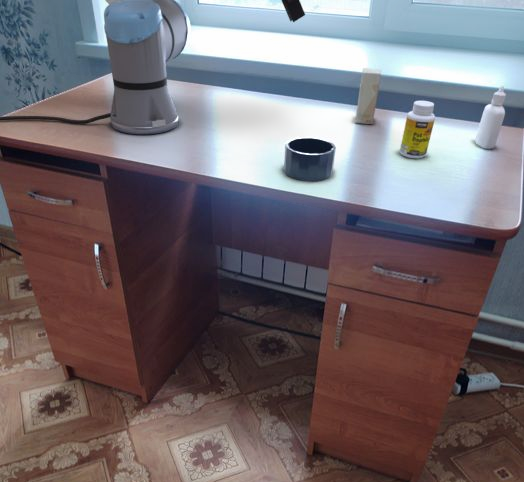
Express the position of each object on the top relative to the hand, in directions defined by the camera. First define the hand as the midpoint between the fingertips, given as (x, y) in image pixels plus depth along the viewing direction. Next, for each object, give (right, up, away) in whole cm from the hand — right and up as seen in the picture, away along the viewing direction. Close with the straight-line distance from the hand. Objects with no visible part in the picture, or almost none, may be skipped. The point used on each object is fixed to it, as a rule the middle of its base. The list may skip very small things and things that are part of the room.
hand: (297, 18), depth 108 cm
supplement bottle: (+24, -30, -1) cm, 39 cm away
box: (+17, -15, +16) cm, 28 cm away
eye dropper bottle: (+42, -25, +5) cm, 50 cm away
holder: (+1, -36, -10) cm, 37 cm away
